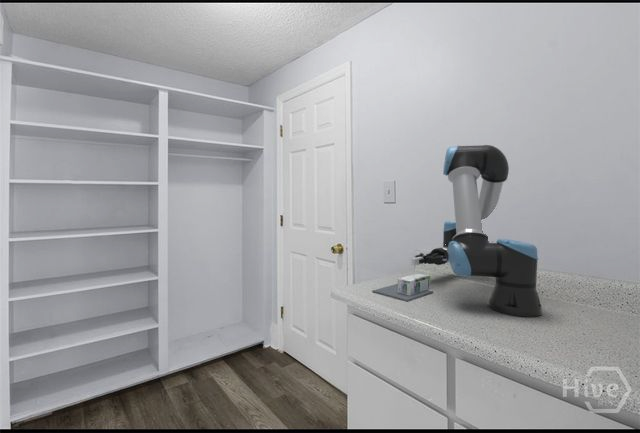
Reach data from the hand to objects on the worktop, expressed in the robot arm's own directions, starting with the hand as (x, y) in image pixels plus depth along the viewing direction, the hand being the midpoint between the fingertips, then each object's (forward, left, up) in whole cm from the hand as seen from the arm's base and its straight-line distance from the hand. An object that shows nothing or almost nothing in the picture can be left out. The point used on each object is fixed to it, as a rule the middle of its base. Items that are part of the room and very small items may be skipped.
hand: (413, 262), depth 132 cm
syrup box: (-1, -4, -8) cm, 9 cm away
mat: (-5, +6, -11) cm, 14 cm away
